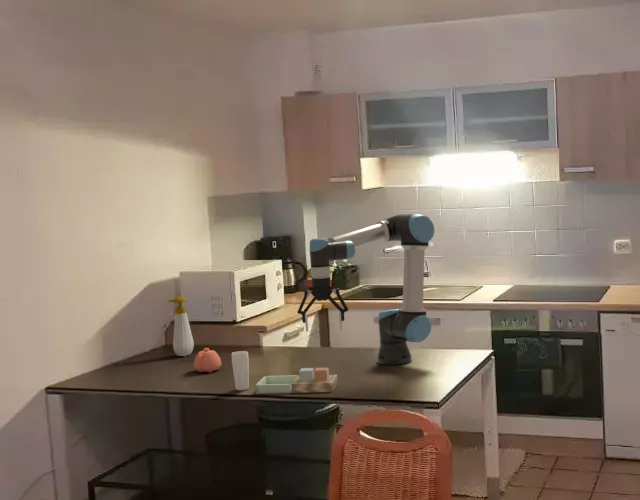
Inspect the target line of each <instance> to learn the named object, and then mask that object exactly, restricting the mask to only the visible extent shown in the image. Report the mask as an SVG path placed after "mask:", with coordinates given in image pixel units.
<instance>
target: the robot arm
mask: <svg viewBox="0 0 640 500" xmlns="http://www.w3.org/2000/svg"><path fill="white" fill-rule="evenodd" d="M434 234H435V225H434V223H433V221H432V220H431V219H430V217H428V215H425V214H419V213H416V214H415V213H412V214H410V213H409V214H403V213H401V214H397V215H393V216H390V217H387V218H384V219H381V220H378V221H376V223H375V224H373V225H370V226H366V227H363V228H360V229H357V230H352V231H349V232H346V233H342V234H339V235H336V236H332V237H330V238H327V237H317V238H312V239H310V241H309V258H310V259H309V260H310V276H311V277H312V278H311V290H308V289H305V290H304V294H303V298H302V300H301V303H300V305H299V307H298V310H297V314H299V315H301V318H302V319H301V320H302V323H303V324H305V332H308V331H309V322H308V314H307V312H308V311H309V309H310V308H311V306H312V305H313V304H314V303H315V302H316V301H317V302H320V301H324V302H325V301H329V302H330V303H331V304H332V305H333V306H334V307H335V308H336V309H337V310H338V311H339V313H338V316H339V317H338V319H339V321H338V322H339V330H340V331H341V330H343V322H344V321H345V313H346V312H348V311H349V307H348V305H347V304H346V302H345V300H344V298H343V297H342V295H341V293H340V289H339V288H338V287H336V288H332V286H331V285H332V284H331V282H332V281H331V277H330V276H331V266H330V265H331V264H330V262H333V261H342V260H343V261H344V260H345V261H346V260H349V259H353V258H354V257H355V255H356V249H361V248H362V247H366V246H371V245H373V244H376V243H379V242H381V243H388V242H395V241H397V242H400V246H401V248H403V250H404V253H403V255H404V256H403V282H402V283H403V285H402V306H401V307H400V308H394V309H386V310H381V311H379V312H378V319H377V321H378V330H379V348H378V352H377V356H376V360H377V361H376V362H377V364H379V365H384V366H385V365H386V366H387V365H388V366H396V365H403V364H408V363H411V362H412V360H413V359H412V354H411V351H410V348H409V345H408V342H410V343H422V342H424V341H425V340H426V339H427V338H428V337H429V336H430V334H431V332H432V321H431V320H430V319H429V317H428V316H427V310H426V309H425V308H424V281H425V280H424V279H425V277H424V276H425V250H427V248H428V247H429V242H430V241H431V240H432V238H433V237H434ZM333 293H334V295H336V297H337V299H338V300H339V302H340V303H341V305H342V307H343V308H342V307H341V305H340V304H339V303H338V302H337V301H336V300H335V299H334V298H333V297H332V294H333ZM310 294H311V295H312V296H313V297H312V299H311V300H310V302H309V303H308V304H307V306H306V307H305V308H304V310H303V307H304V305H305V303H306V301H307V298H308V296H310Z"/></svg>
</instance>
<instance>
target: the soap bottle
mask: <svg viewBox="0 0 640 500" xmlns="http://www.w3.org/2000/svg"><path fill="white" fill-rule="evenodd" d="M186 301H187V299H186V298H185V297H183V296H177V297H175V298H173V299H168V302H169V303H174V304H176V303H178V306H176V308H175V315H174V327H173V340H172V349H173V351H174V353H175V355H176V356H177V357H179V356H184V357H187V355H188V356H190V355H191V354H192V352H193V350H194V346H195V342H194V338H193V334H192V330H191V327H190V321H189V317H188V314H187V312H186V307H185V306H182V303H186Z"/></svg>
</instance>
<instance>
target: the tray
mask: <svg viewBox="0 0 640 500" xmlns="http://www.w3.org/2000/svg"><path fill="white" fill-rule="evenodd" d="M298 376H299V374H297V375H296V374H295V375H293V374H292V375H291V374H290V375H265V376H263V377H261V379H260V380H259V381H258V382H257V383H256V384H255V385H254V389H255V395H272V394H274V395H276V394H279V395H282V394H292V388H291V384H292V382H293V381H294V380H295V379H296V378H297V377H298Z"/></svg>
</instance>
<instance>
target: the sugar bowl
mask: <svg viewBox="0 0 640 500" xmlns="http://www.w3.org/2000/svg"><path fill="white" fill-rule="evenodd" d="M194 358H195V359H194V362H193V368H194V369H195V370H196V371H197V372H198V373H204V372H207V373H210V374H211V373H213V372H214V371H218V370H220V368H221V366H222V360H221V358H220V356H219V354H218V352H216V350H213V349H212V350H211V349H210V348H209V347H205V348H203V350H201V351H198V353H197V355H196V356H195V357H194Z"/></svg>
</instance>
